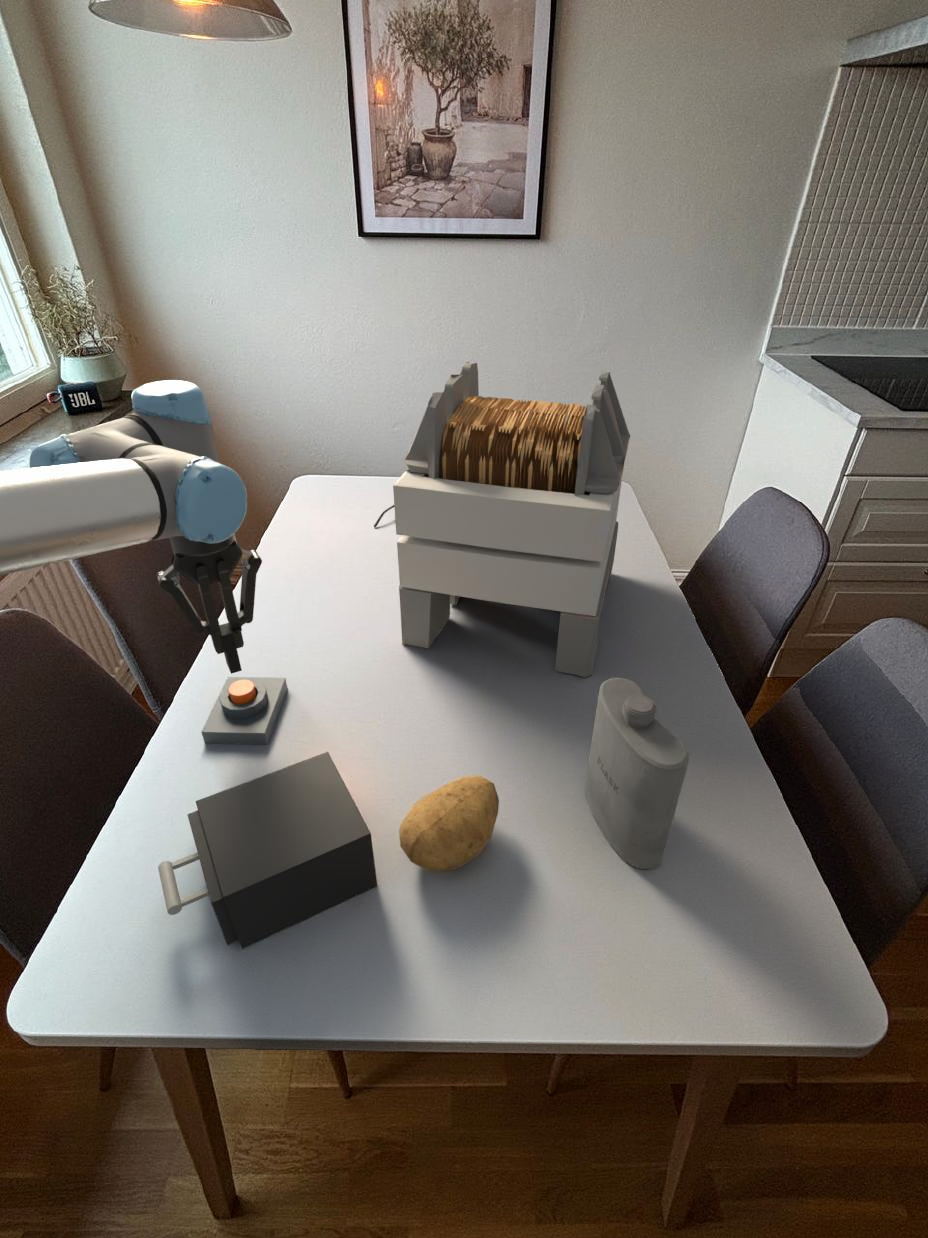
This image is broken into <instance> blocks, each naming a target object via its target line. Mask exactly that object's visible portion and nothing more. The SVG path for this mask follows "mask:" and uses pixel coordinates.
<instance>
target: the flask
mask: <svg viewBox="0 0 928 1238" xmlns="http://www.w3.org/2000/svg"><path fill="white" fill-rule="evenodd" d="M656 713H657V705H656V702H654V700H653V699H651V698H650V697H648V696H646V695H644V692H643V690H642V688H641V687H640V686H639V685H638V684H637V683H636V682H635V681H633V680H631V679H628V678H623V677H612V678H609V679H606V680H604V681H603V682H602V683H600V686H599V690H598V696H597V703H596V711H595V718H594V723H593V730H592V738H591V745H590V751H589V758H588V763H587V772H586V778H585V784H584V793H585V799H586V801H587V804H588V807H589V810H590V812H591V814H592V817H593V819H594V820H595V822H596V824H597V826H598V828H599V830H600V831H601V833H602V834H603V837H605V839H606V841H607V842H608V843H609V844H610V845H611V847H612V848H613V850H614V851H615V852H616V853H617V854H618V855H619V857H620V858H622V860H624V861H625V862H626V863H628V864H629V865H631V866H632V867H634V868H636V869H637V868H638V869H641V870H650V869H653V868H656V867H658V866H659V865H660V863H661V862H662V861H663V858H664V854H665V851H666V846H667V843H668V839H669V836H670V832H671V827H672V825H673V820H674V816H675V814H676V809H677V806H678V802H679V799H680V795H681V791H682V787H683V783H684V780H685V776H686V773H687V769H688V765H689V762H690V752H689V750H688V748H687V746H686V745H684V744H683V742H681V741H680V740H679V739H678V738H677V737H676V736H674V734H673V733H671V732H670V731H669V730H668V729H667V728H666V727H665V726H664V724H663V723H662V722H661V721H660V720H659V718H658V717H657V715H656Z"/></svg>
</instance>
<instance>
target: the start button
mask: <svg viewBox="0 0 928 1238" xmlns="http://www.w3.org/2000/svg"><path fill="white" fill-rule="evenodd" d="M229 695H230V698H231V701H232V702H233V703H235V704H245V703H248V702H251V701H252V700H253V699H254V698H255V697H256V691H255V687H254V684H253V682H252V681H250V680H239V681H236V682H234V683H233V684H231V685H230V687H229Z"/></svg>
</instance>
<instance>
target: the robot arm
mask: <svg viewBox="0 0 928 1238" xmlns="http://www.w3.org/2000/svg"><path fill="white" fill-rule="evenodd" d="M206 400H207V399H206V397H205V394H204V392H203V390H202V389H201V387H199V386H198V385H197V384H195V383H194V382H190V381H186V380H178V379H165V380H157V381H151V382H148V383H144V384H142V385H140V386H138V387H137V388H135V389H134V390H133V391H132V393H131V403H132V406H131V408H132V411H133V412H132V413H130V414H127V415H125V416H123V417H121V418H117V419H114V420H111V421H107V422H104V423H101V424H98V425H97V424H96V425H94V426H91V427H88V428H84V429H81V430H78V431H75V432H71V433H69V434H68V433H67V434H66V433H63V434H61V435H60V436H59V437H56V438H54V439H51V440H49V441H46V442H44V443H40V444H39V445H37V446H35V447H34V449H32V451H31V453H30V456H29V461H28V462H29V468H21V469H12V470H4V471H2V470H1V471H0V577H1V576H4V575H10V574H13V573H18V572H22V571H27V570H30V569H36V568H40V567H44V566H49V565H53V564H57V563H61V562H67V561H70V560H71V561H72V560H75V559H79V558H84V557H88V556H93V555H97V554H101V553H106V552H110V551H114V550H120V549H123V548H128V547H132V546H137V545H141V544H146V543H149V542H155V541H159V540H165V539H169V541H170V545H171V550H172V556H171V565H170V566H168V568H167V569H166V570H165V571H164V570H160V571H158V572H157V573H156V578H157V581H158V583H159V587H160V588H161V589H163V590H164V591H166V592H167V593H169V594H170V595H171V596H172V598H173V599H174V600H175V602H176V603H177V605H178V607H179V608H180V610H181V612H182V613H183V615H184V616H185V619H186V620H187V621H188V622H189V624H190V626H191V627H192V629H193V631H194V633H195V634H196V635H197V636H198V637H204V636H205V635H207V636H210V638H211V642H212V645H213V648H214V650H215V652H216V654H217V655H219V654H223V655H224V658H225V663H226V665H227V668H228V670H229V672H230V674H234V673H238V672H242V666H241V661H240V657H239V652H238V649H241V648H244V644H245V642H244V637H243V633H242V631H243V628H242V627H243V625H246V624H251V623H252V622H253V620H254V610H255V598H256V597H255V596H256V587H257V585H256V583H257V574H258V572H259V570H260V568H261V565H262V563H263V559H262V558H261V556H260V554H259V553H258V551H257V550H255V549H250V550H246V549H243V548H242V546H241V545H240V543H239V542H237V539H236V535H235V533H236V532H238V530H239V529H240V528H241V525H242V524H243V522H244V520H245V518H246V515H247V511H248V493H247V492H248V491H247V488H246V484H245V483H244V481H243V479H242V477H241V476H240V475H239V474H238V473H237V472H236V471H235V470H234V469H233V468H232V467H229V466H227V465H225V464H222V463H221V462H220V459H219V454H218V448H217V444H216V439H215V434H214V427H213V420H212V418H211V415H210V411H209V408H208V407H209V406H208V403H207V401H206ZM239 562H240V564H241V566H242V569H241V582H240V583H241V584H240V597H239V611H238V608H237V605H236V604H237V603H236V601H235V596H234V591H233V584H232V581H231V577H232V575H233V574H234V572H235V570H236V568H237V566H238V564H239ZM179 574H180V575H182V576H183V577H184V578H186V580H188V581H190V582H192V583H193V584H195V585H197V587H198V591H199V595H200V599H201V604H202V607H203V611H204V615H205V618H206V619H205V620H206V621H205V620H202V619H201V617H200V615H199V614H198V612H197V610H196V608H194V606H193V604H192V602H191V601H190V599H189V597H188V596H187V594H186V593H185V591H184V589H183V588H182V586H181V585H180V584H181V579H180V576H179ZM215 583H218V587H219V591H220V595H221V599H222V604H223V607H224V612H225V615H226V616H225V617H226V620H227V622H226V623H224V624H220V621H219V618H218V617H219V616H218V614H217V613H218V612H217V609H216V606H215V601H214V597H213V592H212V587H211V585H212V584H215Z"/></svg>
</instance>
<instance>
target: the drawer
mask: <svg viewBox="0 0 928 1238" xmlns="http://www.w3.org/2000/svg"><path fill="white" fill-rule="evenodd" d="M187 819H188V822H189V827H190V829H191V834H192V837H193V840H194V844H195V848H196V852H194V853H192V854H190V855H187V856H184V857H182V858H180V859H177V860H175V861H170V860H165V861H162V862H160V863H159V865H158V866H157V868H158V869H157V870H158V873H159V879H160V884H161V888H162V893H163V898H164V902H165V903H164V904H165V907H166V913H167V914H168V915H170V916H173V915H177V914H180V912H181V911H182V909H183V907H186V906H188V905H191V904H193V903H195V902H197V901H199V900H203V899H204V898H207V897H209V900H210V903H211V907H212V909H213V912H214V914H215V917H216V919H217V922H218V925H219V928H220V930H221V933H222V936H223V938H224V941H225V944H226V946H229V945H232V944H234V943H236V942H239V941H238V938H237V935H236V932H235V929H234V927H233V924H232V921H231V918H230V915H229V913H228V910H227V907H226V904H225V901H224V899H223V895H222V892H221V888H220V885H219V881H218V878H217V875H216V871H215V868H214V864H213V861H212V857H211V854H210V850H209V847H208V843H207V840H206V836H205V833H204V829H203V826H202V822H201V819H200V815H199V812H198V809H197V810H195V811H192V812H190V813H187ZM197 861H199V863H200V867H201V870H202V875H203V878H204V883H205V887H206V888H204V889H202V890H199V891H197V892H195V893H192V894H190V895H187V896H185V897H182V898H181V897H180V893H179V888H178V884H177V880H176V875H175V870H178V869H179V868H182V867H185V866H187V865H189V864H192V863H194V862H197Z"/></svg>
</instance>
